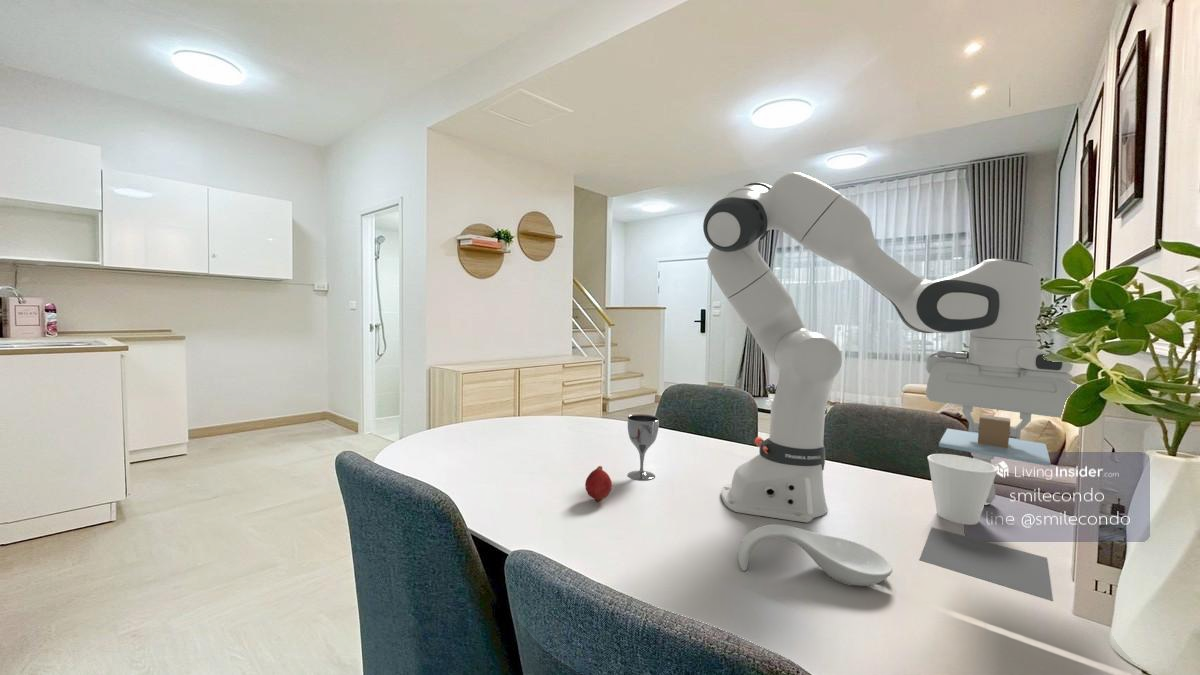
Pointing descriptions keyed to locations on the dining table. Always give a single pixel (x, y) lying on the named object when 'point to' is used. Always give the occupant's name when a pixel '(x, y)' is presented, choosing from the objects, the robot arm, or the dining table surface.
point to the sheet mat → (989, 562)
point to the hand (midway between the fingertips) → (993, 434)
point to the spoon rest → (825, 554)
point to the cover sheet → (1010, 453)
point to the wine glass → (642, 440)
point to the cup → (960, 486)
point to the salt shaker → (992, 491)
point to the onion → (598, 484)
